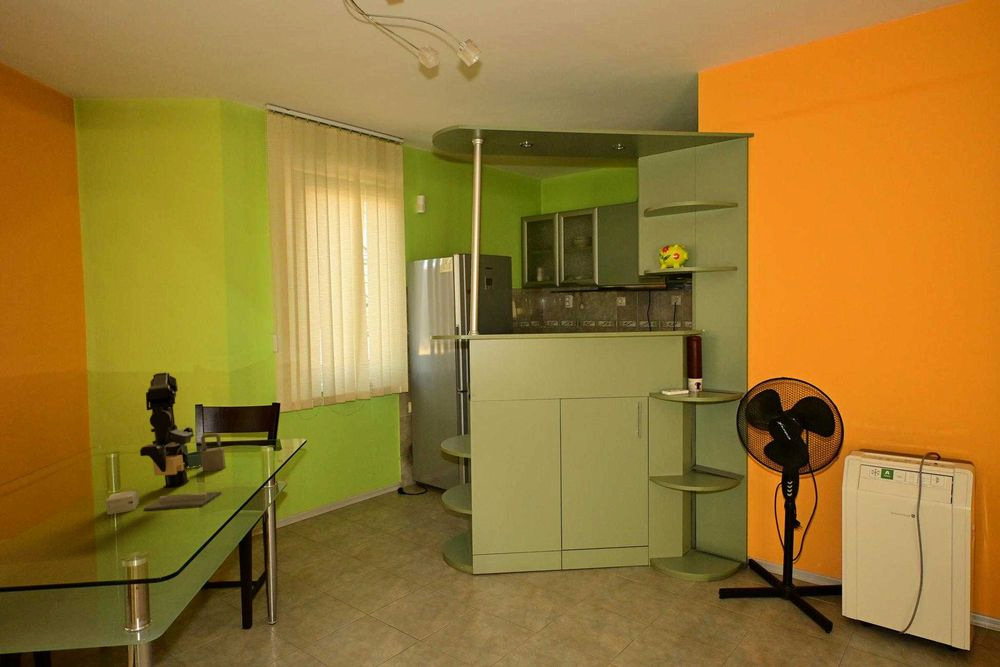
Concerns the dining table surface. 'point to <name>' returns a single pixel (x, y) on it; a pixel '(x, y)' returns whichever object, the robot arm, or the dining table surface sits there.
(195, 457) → the bracket
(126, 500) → the small box
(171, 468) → the block
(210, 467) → the padlock
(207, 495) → the plate
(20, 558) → the dining table surface
